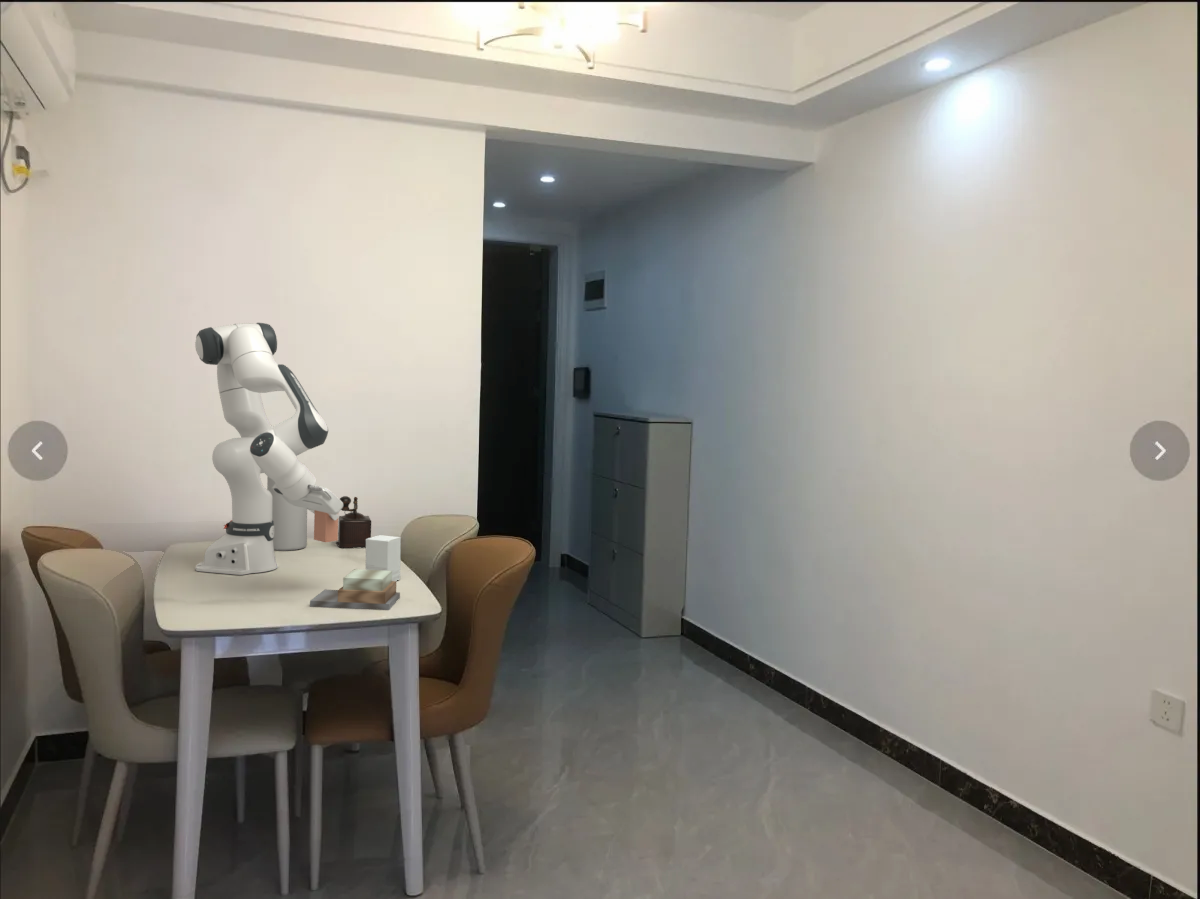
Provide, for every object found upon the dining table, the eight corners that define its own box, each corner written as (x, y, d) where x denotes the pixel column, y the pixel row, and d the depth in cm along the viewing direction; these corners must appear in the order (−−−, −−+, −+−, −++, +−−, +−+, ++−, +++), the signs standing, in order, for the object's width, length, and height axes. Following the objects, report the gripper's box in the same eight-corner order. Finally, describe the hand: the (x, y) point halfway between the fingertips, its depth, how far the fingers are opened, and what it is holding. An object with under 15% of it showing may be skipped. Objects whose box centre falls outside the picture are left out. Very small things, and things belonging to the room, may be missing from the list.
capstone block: (325, 542, 244) (326, 509, 243) (313, 539, 247) (314, 506, 246) (337, 540, 247) (338, 507, 246) (326, 537, 250) (327, 505, 249)
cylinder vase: (284, 552, 291) (285, 475, 289) (258, 547, 298) (259, 472, 295) (314, 547, 302) (315, 472, 300) (288, 542, 308) (289, 469, 306)
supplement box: (401, 580, 261) (402, 536, 260) (386, 585, 254) (387, 540, 253) (378, 577, 263) (379, 534, 262) (364, 582, 256) (365, 538, 255)
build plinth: (309, 606, 229) (310, 577, 228) (324, 594, 241) (325, 567, 240) (388, 609, 229) (389, 580, 228) (399, 598, 241) (400, 570, 240)
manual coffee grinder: (335, 542, 311) (336, 490, 310) (368, 541, 315) (369, 490, 313) (337, 551, 296) (338, 497, 295) (372, 550, 300) (373, 497, 299)
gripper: (330, 479, 234) (359, 512, 242) (282, 470, 246) (312, 502, 254) (315, 497, 230) (345, 531, 239) (267, 487, 242) (298, 520, 251)
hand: (328, 516), depth 247 cm, fingers closed on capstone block, 5 cm apart
